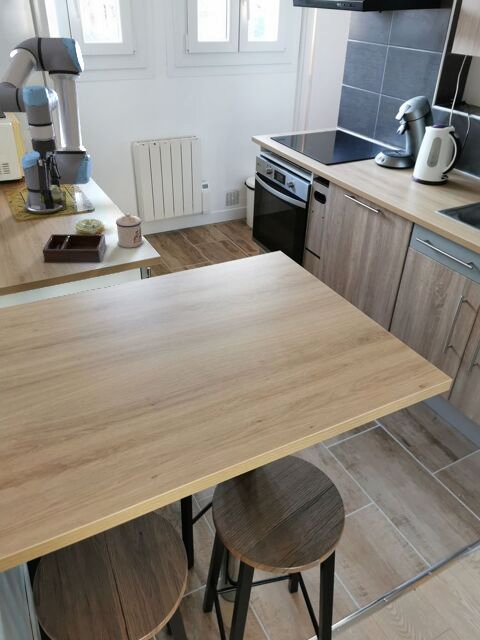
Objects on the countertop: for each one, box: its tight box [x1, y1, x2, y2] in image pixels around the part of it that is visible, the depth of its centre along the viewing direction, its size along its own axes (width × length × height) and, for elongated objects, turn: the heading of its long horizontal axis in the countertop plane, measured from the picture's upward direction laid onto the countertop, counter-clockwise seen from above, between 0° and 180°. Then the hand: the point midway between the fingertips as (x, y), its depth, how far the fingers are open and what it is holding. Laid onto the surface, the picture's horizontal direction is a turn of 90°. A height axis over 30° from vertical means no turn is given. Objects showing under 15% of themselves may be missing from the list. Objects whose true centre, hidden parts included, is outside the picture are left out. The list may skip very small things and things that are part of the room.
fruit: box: [37, 185, 67, 208], centre depth 180 cm, size 9×9×8 cm
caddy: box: [42, 233, 107, 263], centre depth 184 cm, size 13×19×5 cm
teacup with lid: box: [115, 212, 143, 248], centre depth 192 cm, size 12×9×12 cm
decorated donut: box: [74, 218, 105, 235], centre depth 200 cm, size 10×11×4 cm
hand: (54, 203), depth 181 cm, fingers closed on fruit, 10 cm apart
